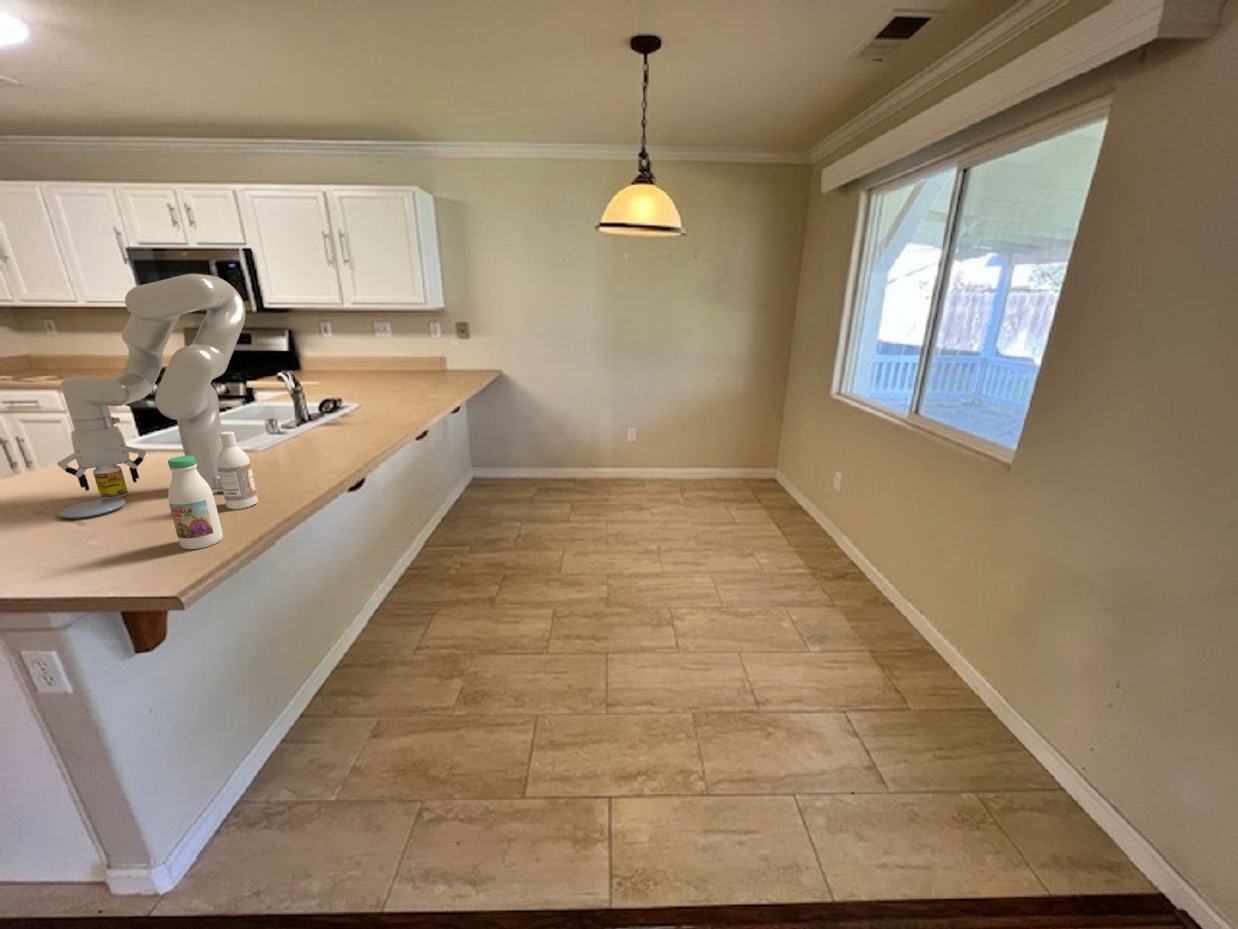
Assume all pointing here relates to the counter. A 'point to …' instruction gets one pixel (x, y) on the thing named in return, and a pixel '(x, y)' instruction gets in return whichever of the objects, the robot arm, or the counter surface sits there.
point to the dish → (92, 508)
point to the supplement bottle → (110, 481)
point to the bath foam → (235, 474)
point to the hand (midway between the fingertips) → (111, 485)
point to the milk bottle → (192, 505)
